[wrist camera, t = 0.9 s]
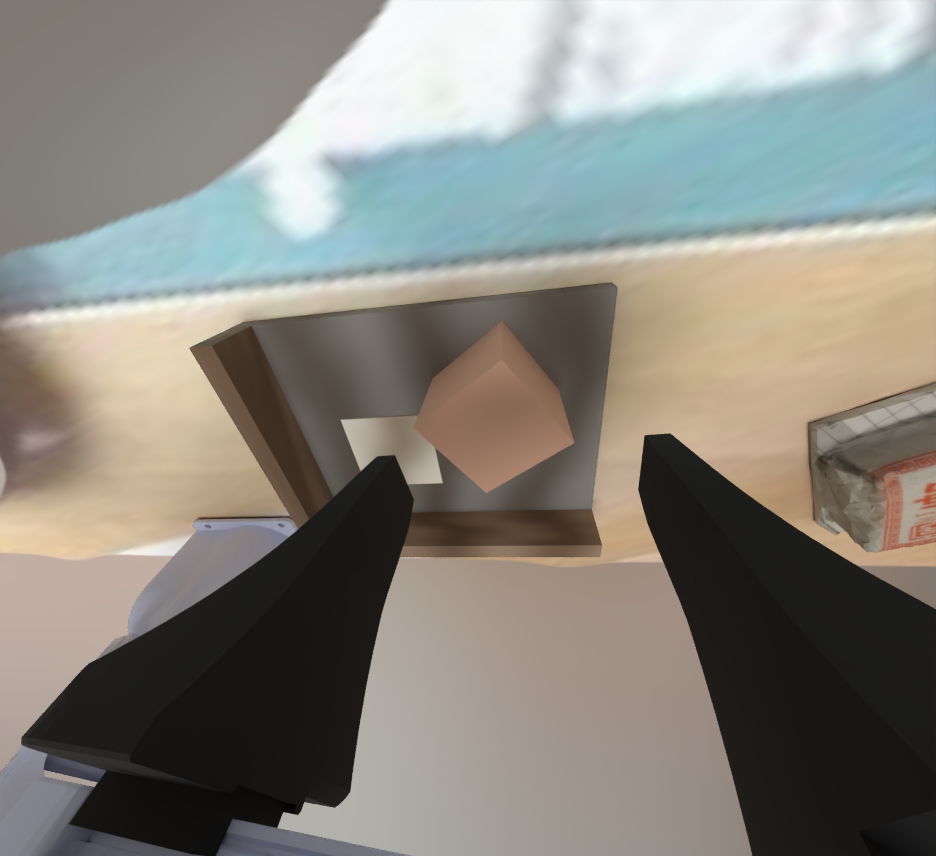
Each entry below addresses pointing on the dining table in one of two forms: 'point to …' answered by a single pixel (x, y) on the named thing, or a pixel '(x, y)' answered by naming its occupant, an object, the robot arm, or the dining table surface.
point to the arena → (398, 405)
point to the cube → (494, 411)
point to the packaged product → (878, 471)
